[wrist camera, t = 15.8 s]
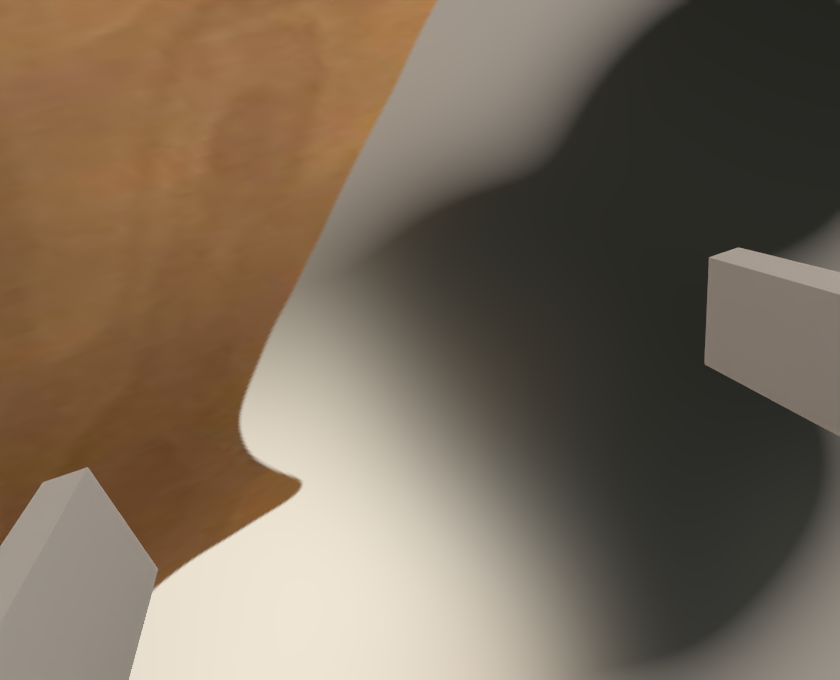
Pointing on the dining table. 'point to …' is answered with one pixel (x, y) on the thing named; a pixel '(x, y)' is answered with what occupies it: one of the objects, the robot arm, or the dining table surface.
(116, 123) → the dining table surface
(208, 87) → the dining table surface
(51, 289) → the dining table surface
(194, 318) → the dining table surface
